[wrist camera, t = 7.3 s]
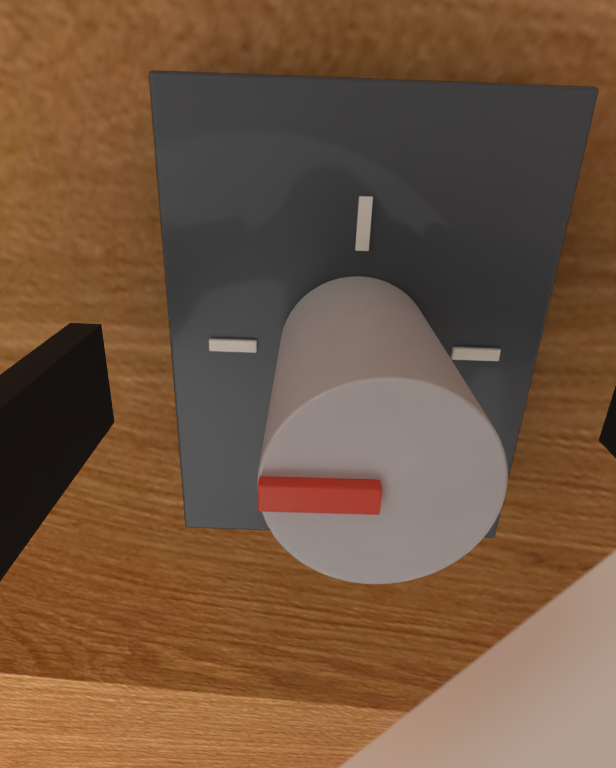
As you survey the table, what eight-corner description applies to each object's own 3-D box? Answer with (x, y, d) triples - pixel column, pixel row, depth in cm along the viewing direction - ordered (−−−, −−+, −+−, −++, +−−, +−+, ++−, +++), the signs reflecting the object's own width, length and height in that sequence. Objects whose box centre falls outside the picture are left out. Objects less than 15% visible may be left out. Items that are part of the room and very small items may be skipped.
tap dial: (438, 278, 15) (540, 389, 8) (419, 416, 16) (490, 601, 10) (280, 273, 15) (253, 381, 8) (280, 412, 16) (256, 594, 10)
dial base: (472, 488, 21) (497, 542, 18) (201, 479, 21) (183, 531, 18) (550, 96, 15) (604, 85, 13) (176, 82, 15) (145, 68, 13)
